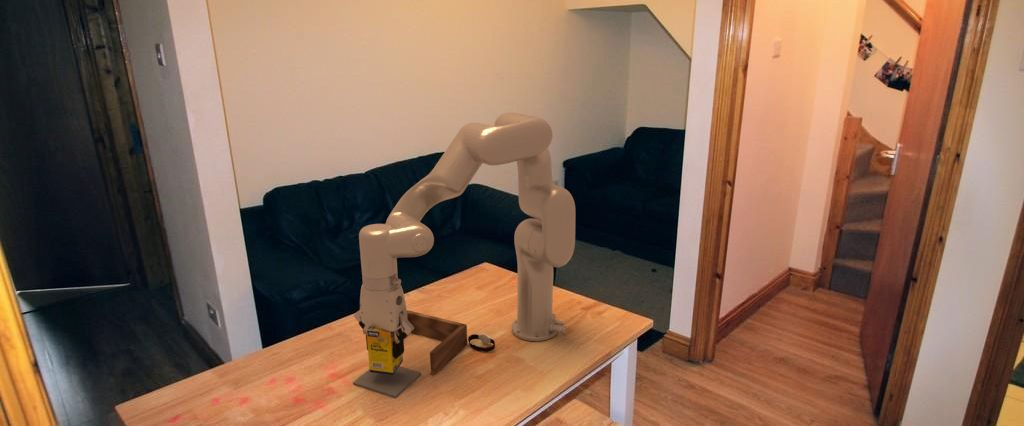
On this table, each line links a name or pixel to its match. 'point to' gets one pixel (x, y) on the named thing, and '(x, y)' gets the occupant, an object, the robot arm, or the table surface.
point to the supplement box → (382, 351)
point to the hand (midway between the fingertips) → (385, 351)
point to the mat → (388, 381)
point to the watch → (484, 339)
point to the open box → (439, 337)
